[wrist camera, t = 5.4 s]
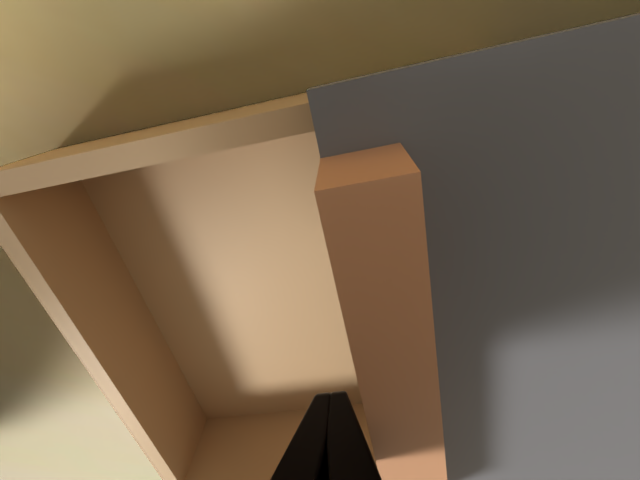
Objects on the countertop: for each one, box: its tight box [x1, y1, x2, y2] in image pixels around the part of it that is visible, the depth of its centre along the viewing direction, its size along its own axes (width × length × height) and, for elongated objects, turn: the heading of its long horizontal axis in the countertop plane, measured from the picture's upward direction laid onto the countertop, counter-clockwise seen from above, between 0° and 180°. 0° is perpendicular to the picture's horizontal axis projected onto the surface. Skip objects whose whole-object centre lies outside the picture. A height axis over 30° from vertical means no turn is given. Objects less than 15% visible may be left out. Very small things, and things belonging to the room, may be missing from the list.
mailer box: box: [0, 92, 377, 480], centre depth 12 cm, size 14×14×4 cm
